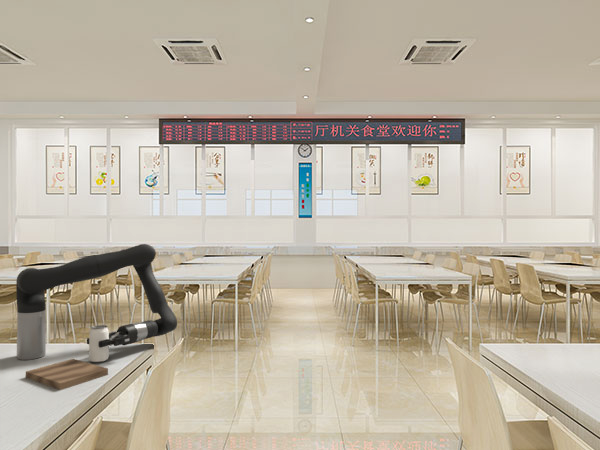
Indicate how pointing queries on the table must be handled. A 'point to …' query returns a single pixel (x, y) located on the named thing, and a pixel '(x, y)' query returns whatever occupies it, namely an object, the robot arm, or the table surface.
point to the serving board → (66, 373)
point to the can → (95, 336)
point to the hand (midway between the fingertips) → (93, 343)
